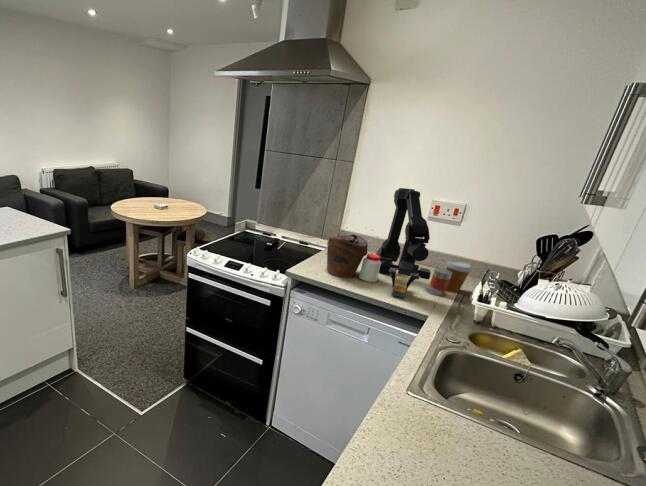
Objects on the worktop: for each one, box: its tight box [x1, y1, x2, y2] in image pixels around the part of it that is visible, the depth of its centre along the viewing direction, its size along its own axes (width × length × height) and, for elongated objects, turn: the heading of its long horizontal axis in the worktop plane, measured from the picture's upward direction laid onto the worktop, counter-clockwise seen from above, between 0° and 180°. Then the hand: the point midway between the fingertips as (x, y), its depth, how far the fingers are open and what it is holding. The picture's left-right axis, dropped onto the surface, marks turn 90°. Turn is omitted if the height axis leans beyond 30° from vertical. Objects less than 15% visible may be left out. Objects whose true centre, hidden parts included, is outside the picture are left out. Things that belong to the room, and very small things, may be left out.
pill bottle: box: [358, 253, 381, 283], centre depth 176 cm, size 8×8×11 cm
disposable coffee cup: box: [445, 260, 472, 293], centre depth 171 cm, size 10×10×12 cm
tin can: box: [427, 267, 452, 297], centre depth 167 cm, size 7×7×10 cm
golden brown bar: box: [391, 275, 409, 298], centre depth 164 cm, size 4×13×4 cm, turn 153°
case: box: [325, 234, 368, 278], centre depth 179 cm, size 18×20×18 cm
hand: (399, 288), depth 165 cm, fingers closed on golden brown bar, 4 cm apart
